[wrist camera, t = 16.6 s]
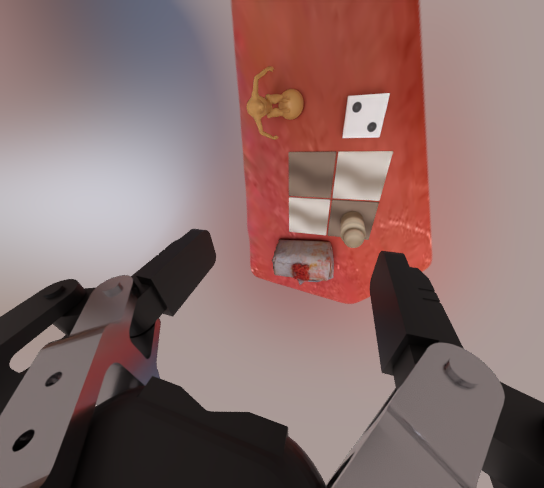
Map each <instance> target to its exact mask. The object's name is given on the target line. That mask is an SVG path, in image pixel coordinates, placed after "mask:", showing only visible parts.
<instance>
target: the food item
mask: <svg viewBox="0 0 544 488" xmlns="http://www.w3.org/2000/svg"><path fill="white" fill-rule="evenodd" d="M272 260H273V261H272V262H273V269H274V274H275V275H281V276H286V277H294V279H296V278H298V279H297V280H298V281H299V284H300V285H301V284H302V283H303V282H304V281H309V282H319V281H327V280H329V279H331V278H333V272H334V270H333V269H334V260H333V251H332V246H331V243H330V242H328V241H301V240H279V243H278V244H277V247H276V250H275V252H274V257H273V259H272ZM309 279H313V280H309Z"/></svg>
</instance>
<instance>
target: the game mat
mask: <svg viewBox="0 0 544 488" xmlns="http://www.w3.org/2000/svg"><path fill="white" fill-rule="evenodd" d="M392 154H393V151H352V152H338V160H337V167H336V175H335V183H334V190H333V198H339V199H358V200H377V201H379V200H380V197H381V193H382V189H383V186H384V182H385V179H386V175H387V171H388V168H389V164H390V161H391V157H392ZM335 157H336V152H289V196H302V197H320V198H331V190H332V181H333V173H334V165H335ZM378 204H379V202H366V201H348V200H332V206H331V214H330V221H329V229H328V236H337V237H341V224H340V221H341V217H342V216H343V215H344V214H345V213H347V212H350V211H355V212H358V213H360V214H361V215H362V217H363V221H364V226H365V231H366V237H365V239H366V240H369V236H370V232H371V229H372V225H373V222H374V218H375V214H376V211H377V207H378ZM329 206H330V199H312V198H294V197H289V232H298V233H308V234H318V235H326V230H327V222H328V214H329Z"/></svg>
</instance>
